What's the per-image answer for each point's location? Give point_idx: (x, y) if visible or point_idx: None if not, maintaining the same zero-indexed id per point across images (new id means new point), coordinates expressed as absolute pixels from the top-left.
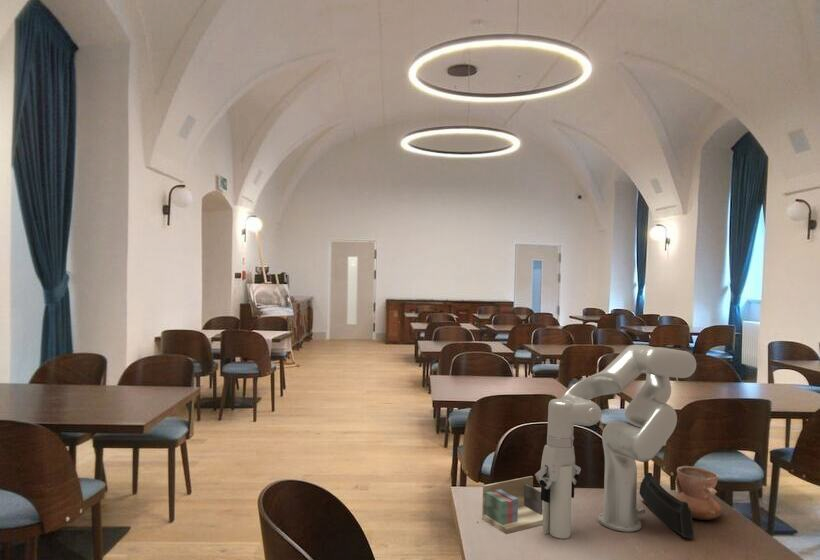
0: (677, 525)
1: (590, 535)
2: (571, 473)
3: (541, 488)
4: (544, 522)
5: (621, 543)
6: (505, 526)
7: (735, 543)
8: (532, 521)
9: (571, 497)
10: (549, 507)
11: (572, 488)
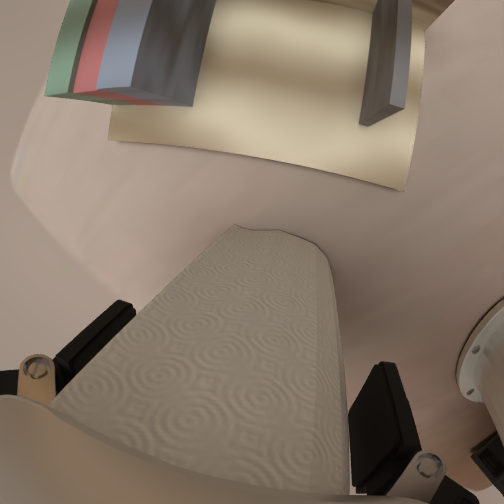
0: (496, 450)
1: (373, 347)
2: None
3: (54, 360)
4: (227, 242)
5: None
6: (117, 121)
7: None
8: (251, 147)
9: (349, 411)
10: (251, 272)
11: (353, 468)
